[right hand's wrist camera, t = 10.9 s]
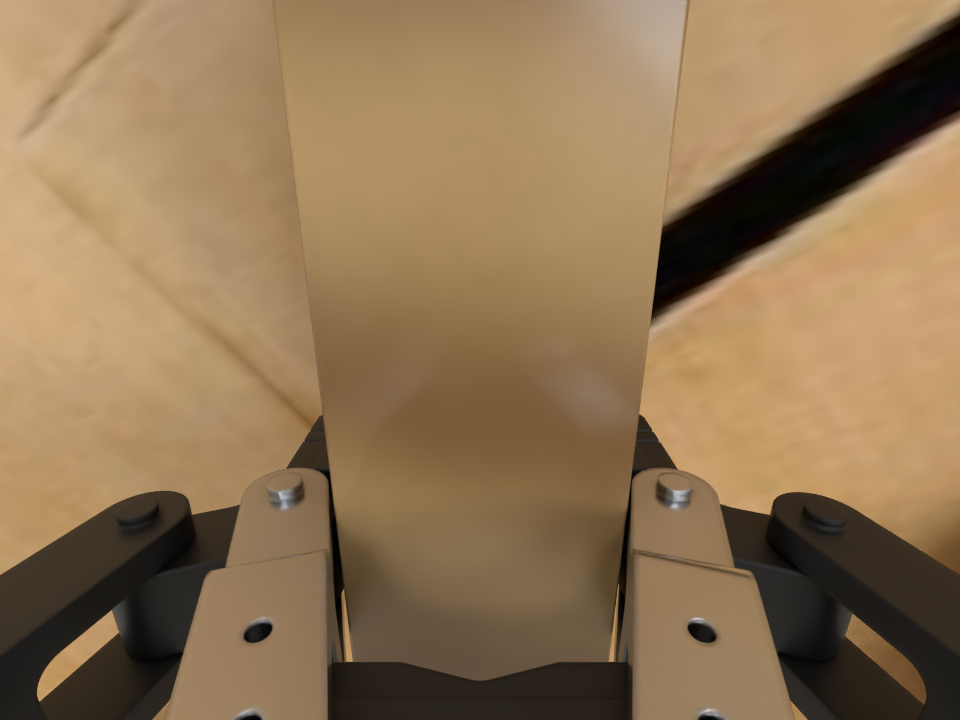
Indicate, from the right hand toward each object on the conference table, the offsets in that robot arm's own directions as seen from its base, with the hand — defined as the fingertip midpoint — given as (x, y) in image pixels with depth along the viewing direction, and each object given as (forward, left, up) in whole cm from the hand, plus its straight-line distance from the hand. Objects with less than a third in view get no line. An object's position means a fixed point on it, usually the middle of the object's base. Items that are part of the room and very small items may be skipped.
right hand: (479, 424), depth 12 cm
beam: (+15, -26, -2) cm, 30 cm away
